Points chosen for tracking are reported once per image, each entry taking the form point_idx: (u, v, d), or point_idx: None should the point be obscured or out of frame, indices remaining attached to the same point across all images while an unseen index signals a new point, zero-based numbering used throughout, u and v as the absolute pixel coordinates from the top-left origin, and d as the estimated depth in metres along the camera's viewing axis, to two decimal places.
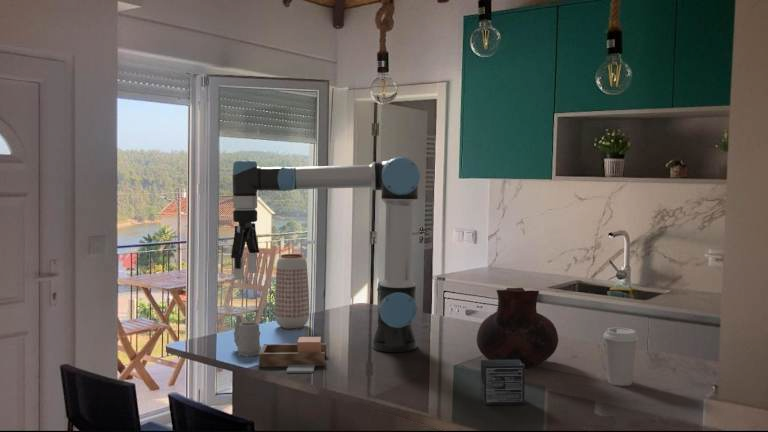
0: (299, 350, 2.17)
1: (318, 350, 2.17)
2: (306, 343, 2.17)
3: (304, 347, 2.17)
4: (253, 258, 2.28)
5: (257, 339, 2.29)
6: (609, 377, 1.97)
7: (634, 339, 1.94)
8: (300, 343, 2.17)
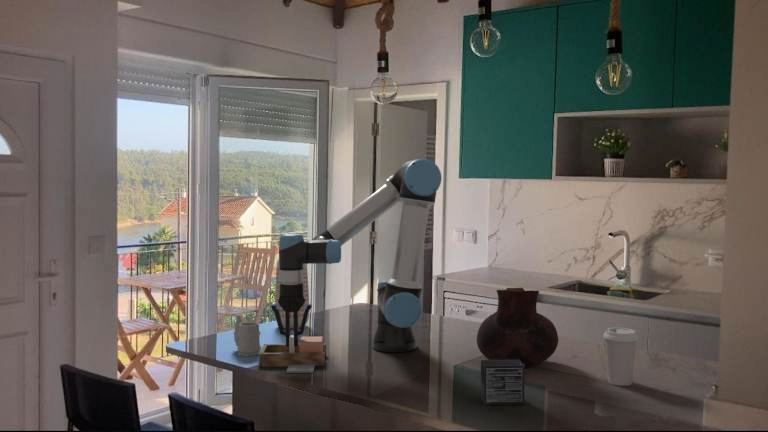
0: (301, 350, 2.17)
1: (320, 350, 2.17)
2: (308, 343, 2.17)
3: (306, 347, 2.17)
4: None
5: (257, 339, 2.29)
6: (609, 377, 1.97)
7: (634, 339, 1.94)
8: (302, 343, 2.17)
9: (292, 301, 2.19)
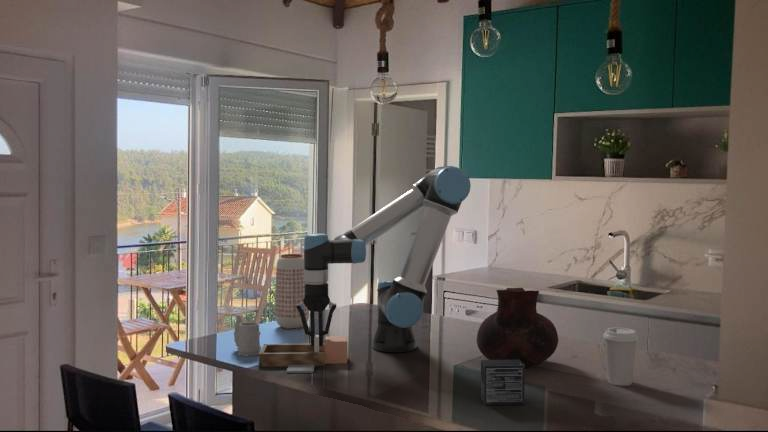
0: (326, 349, 2.17)
1: (345, 349, 2.18)
2: (333, 342, 2.17)
3: (331, 346, 2.17)
4: None
5: (257, 339, 2.29)
6: (609, 377, 1.97)
7: (634, 339, 1.94)
8: (327, 342, 2.17)
9: (317, 301, 2.19)
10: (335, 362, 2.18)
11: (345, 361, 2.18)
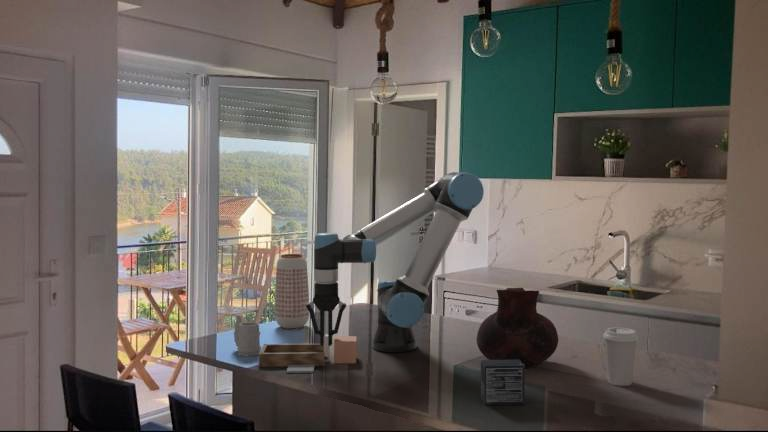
0: (335, 349, 2.18)
1: (354, 349, 2.18)
2: (343, 342, 2.18)
3: (340, 346, 2.18)
4: None
5: (257, 339, 2.29)
6: (609, 377, 1.97)
7: (634, 339, 1.94)
8: (337, 342, 2.17)
9: (327, 300, 2.19)
10: (344, 362, 2.18)
11: (354, 361, 2.18)
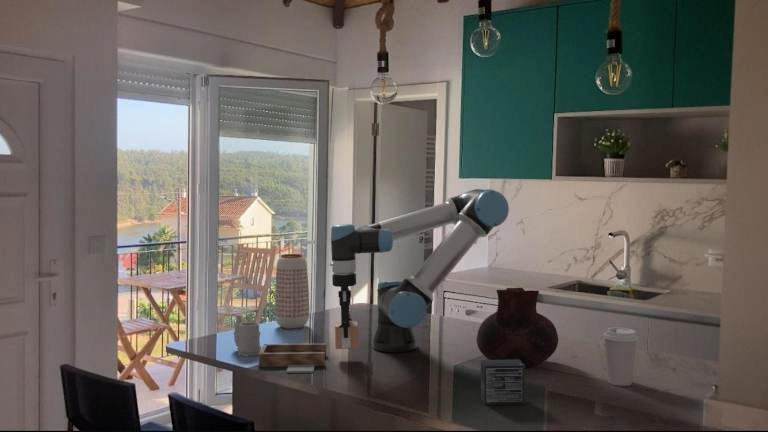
0: (337, 335, 2.17)
1: (356, 334, 2.18)
2: None
3: None
4: None
5: (257, 339, 2.29)
6: (609, 377, 1.97)
7: (634, 339, 1.94)
8: (338, 328, 2.17)
9: (348, 291, 2.20)
10: None
11: (356, 346, 2.18)
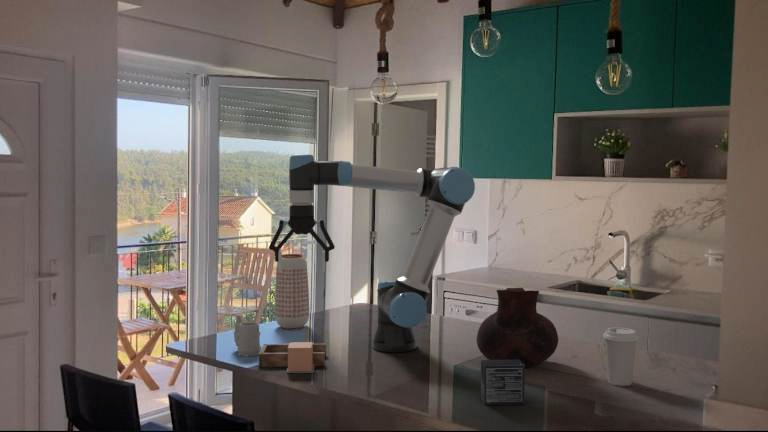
0: None
1: None
2: (289, 345, 2.11)
3: None
4: None
5: (257, 339, 2.29)
6: (609, 377, 1.97)
7: (634, 339, 1.94)
8: (289, 344, 2.13)
9: (302, 225, 2.15)
10: None
11: None
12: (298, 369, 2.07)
